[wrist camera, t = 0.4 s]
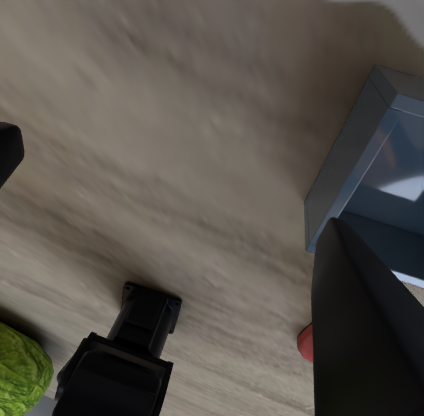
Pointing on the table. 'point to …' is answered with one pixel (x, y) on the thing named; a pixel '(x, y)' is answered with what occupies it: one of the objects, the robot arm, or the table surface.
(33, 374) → the lettuce
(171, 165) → the table surface
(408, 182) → the blue open box
